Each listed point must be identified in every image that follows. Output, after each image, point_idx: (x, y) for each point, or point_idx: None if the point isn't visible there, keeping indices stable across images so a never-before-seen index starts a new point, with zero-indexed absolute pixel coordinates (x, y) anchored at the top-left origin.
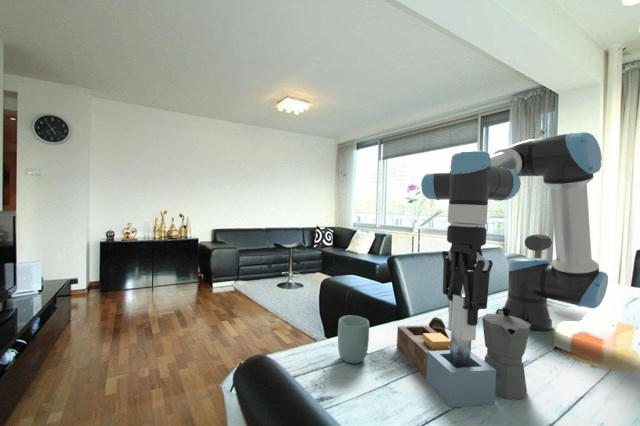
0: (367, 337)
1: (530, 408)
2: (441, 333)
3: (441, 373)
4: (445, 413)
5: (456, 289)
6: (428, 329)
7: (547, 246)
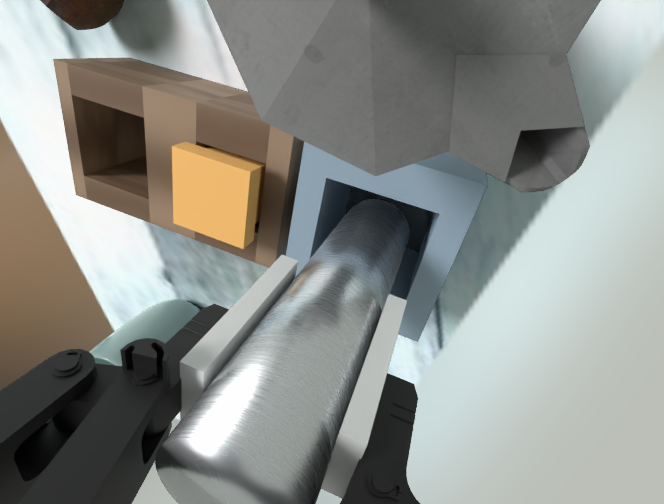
0: None
1: (576, 41)
2: None
3: None
4: (440, 306)
5: (122, 485)
6: (94, 93)
7: None
